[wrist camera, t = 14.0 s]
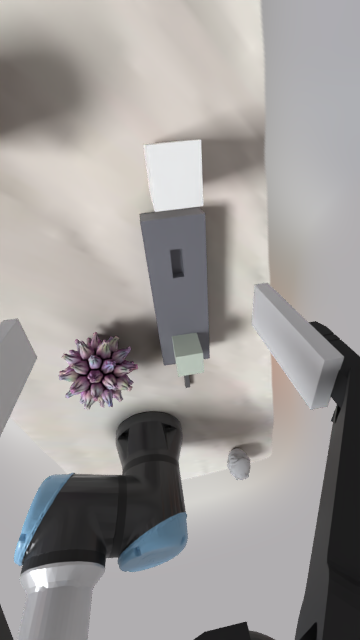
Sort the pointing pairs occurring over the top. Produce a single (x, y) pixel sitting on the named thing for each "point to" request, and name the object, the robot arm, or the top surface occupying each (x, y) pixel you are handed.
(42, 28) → the top surface
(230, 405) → the top surface
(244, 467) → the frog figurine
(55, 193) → the top surface
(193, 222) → the power strip
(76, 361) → the flower
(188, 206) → the white rectangular block
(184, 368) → the block
